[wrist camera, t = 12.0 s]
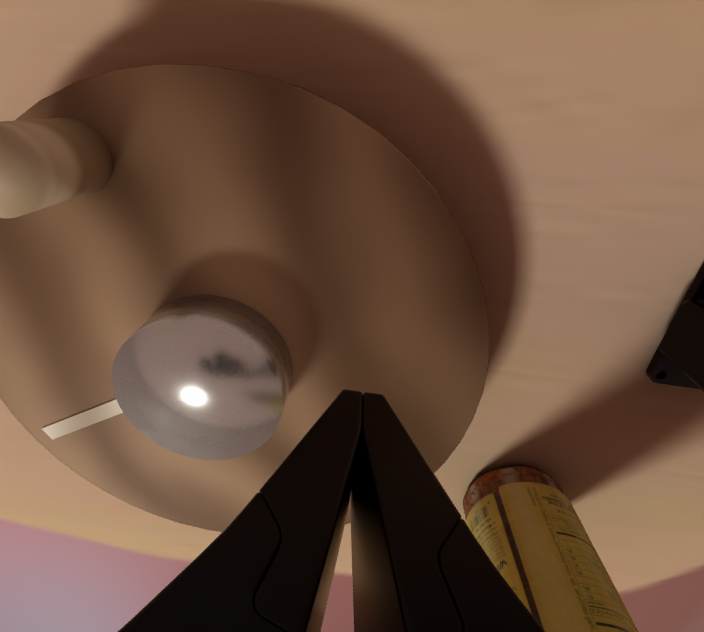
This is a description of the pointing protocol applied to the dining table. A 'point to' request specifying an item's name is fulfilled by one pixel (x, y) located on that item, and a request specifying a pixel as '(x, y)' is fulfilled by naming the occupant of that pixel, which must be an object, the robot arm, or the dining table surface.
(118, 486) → the turntable
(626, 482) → the dining table surface
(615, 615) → the sauce bottle
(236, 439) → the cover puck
